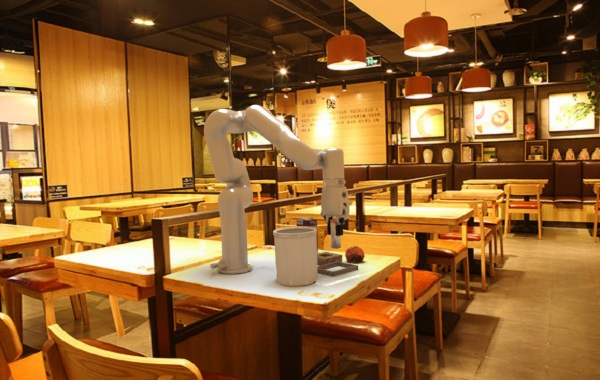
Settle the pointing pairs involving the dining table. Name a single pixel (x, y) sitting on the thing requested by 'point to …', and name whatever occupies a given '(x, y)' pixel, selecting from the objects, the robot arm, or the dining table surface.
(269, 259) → the dining table surface
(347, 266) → the tray
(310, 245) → the utensil holder
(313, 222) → the supplement box
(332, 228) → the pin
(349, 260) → the pomegranate
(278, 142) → the robot arm
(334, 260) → the pin block
